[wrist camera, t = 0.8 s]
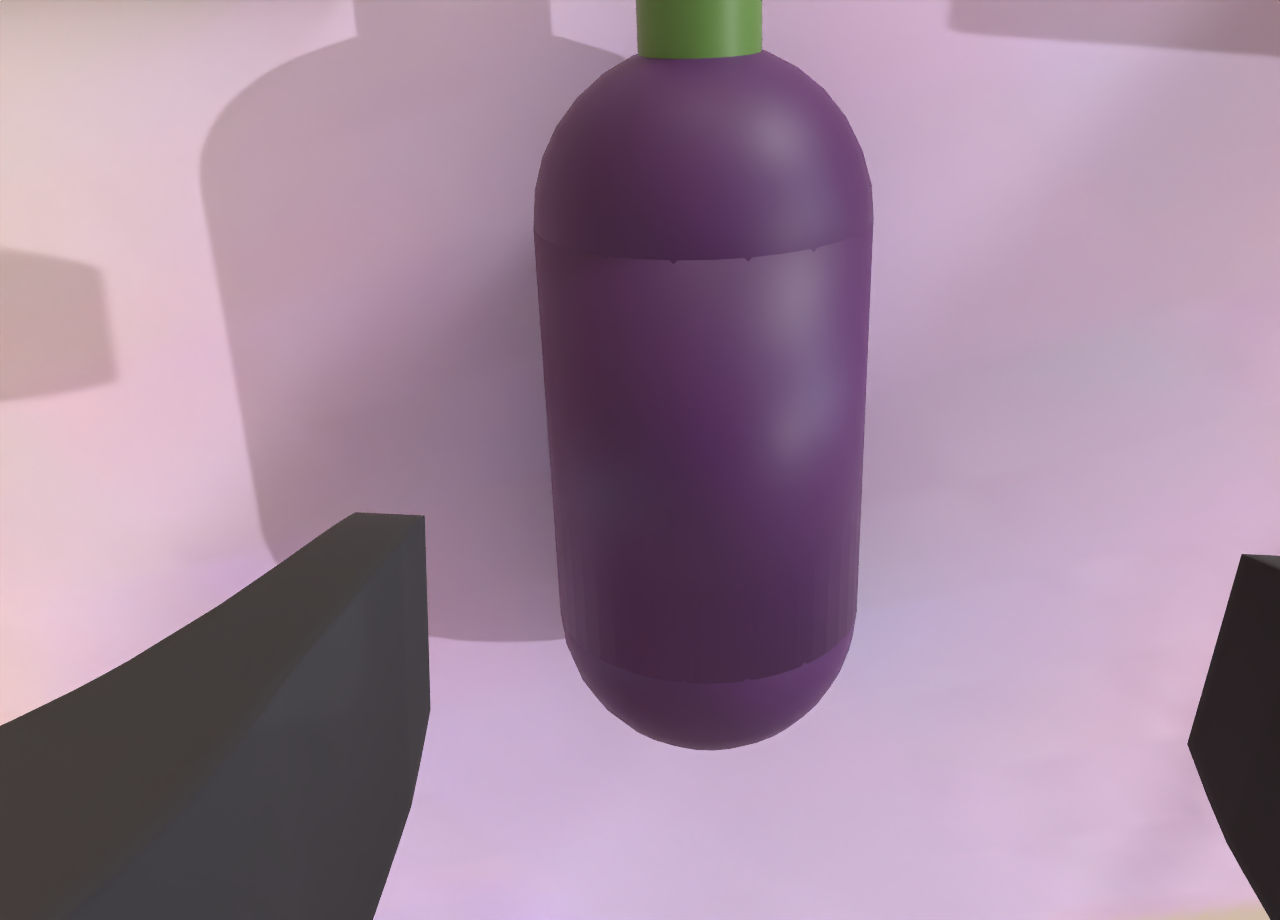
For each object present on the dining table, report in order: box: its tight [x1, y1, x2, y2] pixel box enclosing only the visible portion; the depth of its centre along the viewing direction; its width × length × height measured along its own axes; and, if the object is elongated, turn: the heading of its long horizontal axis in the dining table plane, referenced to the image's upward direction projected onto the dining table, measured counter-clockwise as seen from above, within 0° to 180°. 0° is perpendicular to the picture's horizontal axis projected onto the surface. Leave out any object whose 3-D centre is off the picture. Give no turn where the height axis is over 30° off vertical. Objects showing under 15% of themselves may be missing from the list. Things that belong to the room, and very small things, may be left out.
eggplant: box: [534, 0, 873, 750], centre depth 17 cm, size 12×5×5 cm, turn 2°
